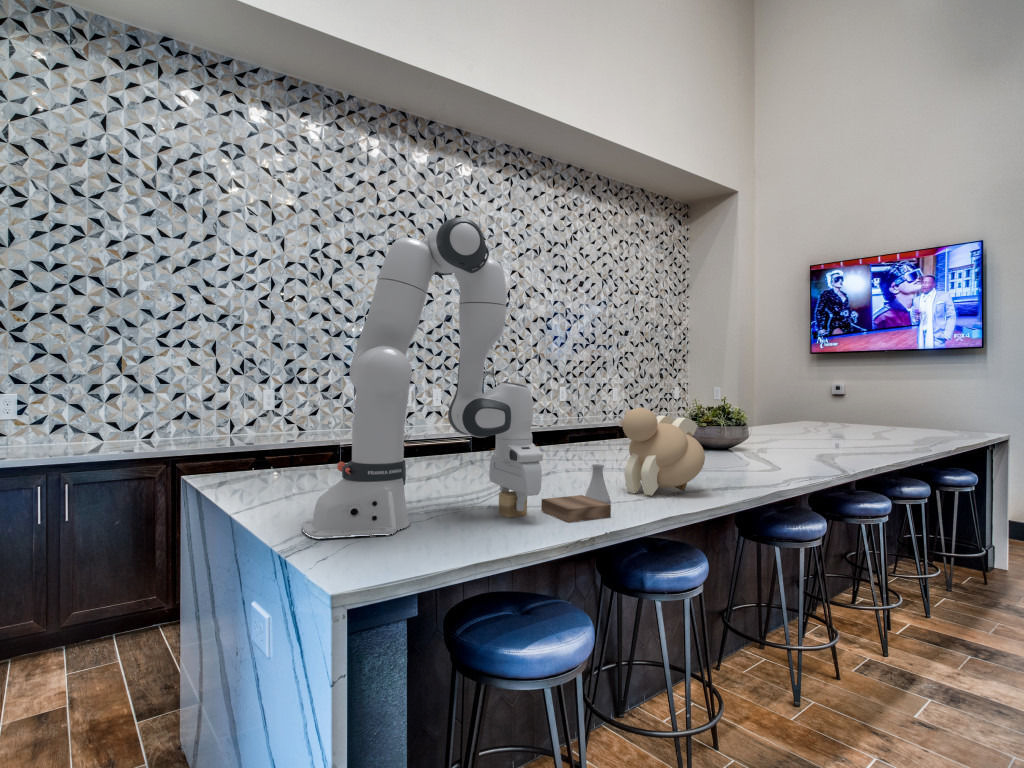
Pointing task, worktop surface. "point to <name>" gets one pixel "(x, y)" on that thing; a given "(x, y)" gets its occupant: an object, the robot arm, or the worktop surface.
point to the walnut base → (576, 508)
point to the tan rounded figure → (660, 451)
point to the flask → (598, 485)
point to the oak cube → (510, 504)
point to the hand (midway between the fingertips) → (512, 507)
